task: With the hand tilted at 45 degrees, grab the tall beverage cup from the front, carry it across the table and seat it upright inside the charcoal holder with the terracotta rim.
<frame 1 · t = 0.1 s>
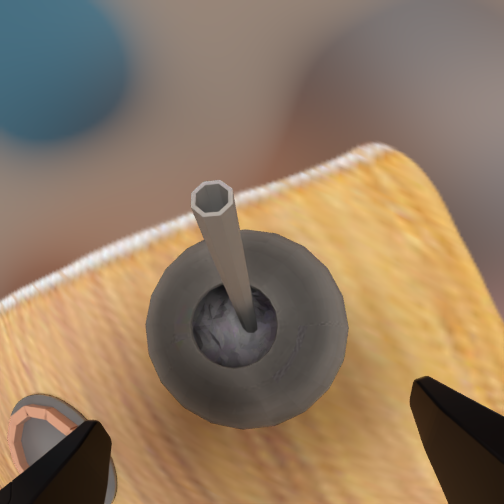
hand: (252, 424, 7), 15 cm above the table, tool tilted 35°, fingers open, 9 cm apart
beverage cup: (263, 336, 23), on the table
cup holder: (58, 458, 20), on the table
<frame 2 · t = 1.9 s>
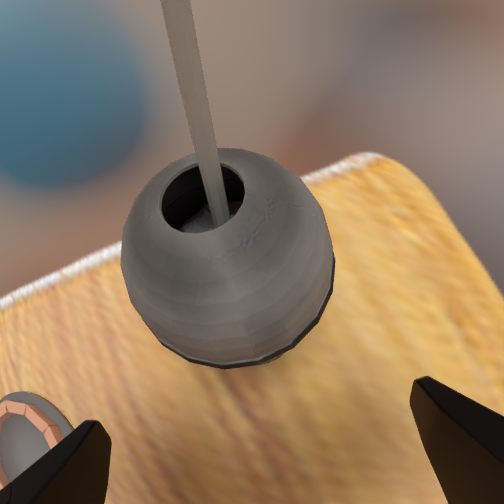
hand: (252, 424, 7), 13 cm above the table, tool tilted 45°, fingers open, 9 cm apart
beverage cup: (259, 331, 21), on the table
cup holder: (34, 462, 17), on the table
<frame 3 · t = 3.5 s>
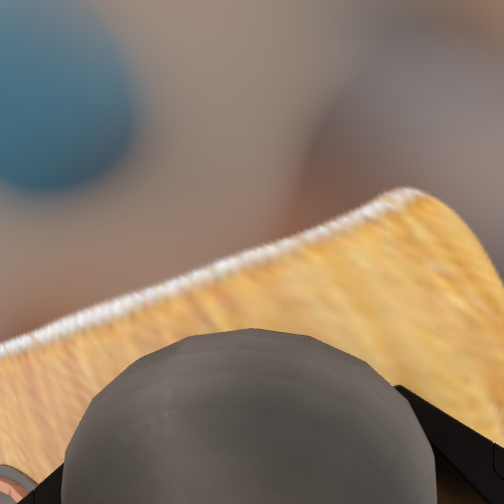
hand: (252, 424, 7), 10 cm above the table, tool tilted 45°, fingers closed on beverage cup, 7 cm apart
beverage cup: (272, 432, 16), on the table, touching gripper
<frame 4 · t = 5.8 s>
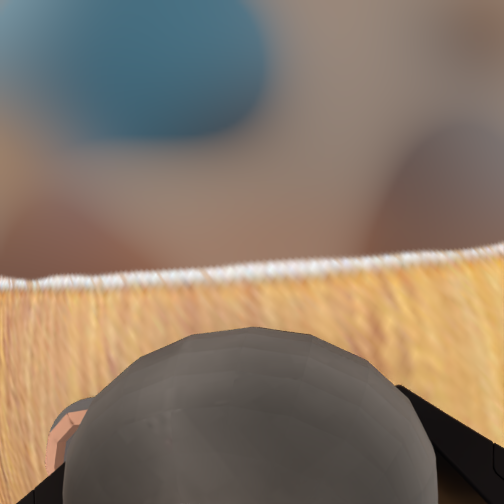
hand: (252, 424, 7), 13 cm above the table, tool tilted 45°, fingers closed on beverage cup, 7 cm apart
beverage cup: (273, 430, 16), point 3 cm above the table, touching gripper
cup holder: (114, 476, 18), on the table
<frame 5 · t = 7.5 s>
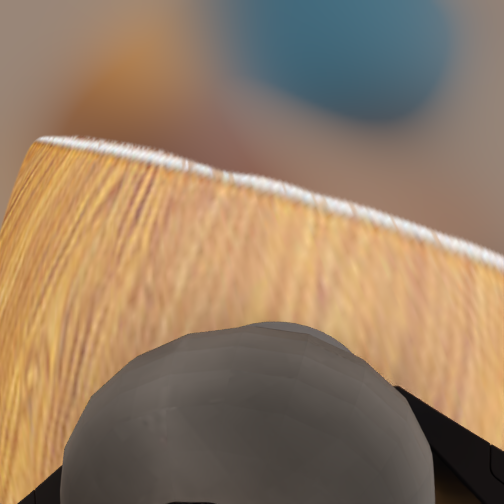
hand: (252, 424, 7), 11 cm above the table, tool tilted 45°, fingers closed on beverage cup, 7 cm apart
beverage cup: (272, 430, 16), point 2 cm above the table, touching gripper
cup holder: (272, 424, 17), on the table
when the fingers open (11 cm above the table, at t = 7.9 s): beverage cup drops 1 cm, resting on cup holder.
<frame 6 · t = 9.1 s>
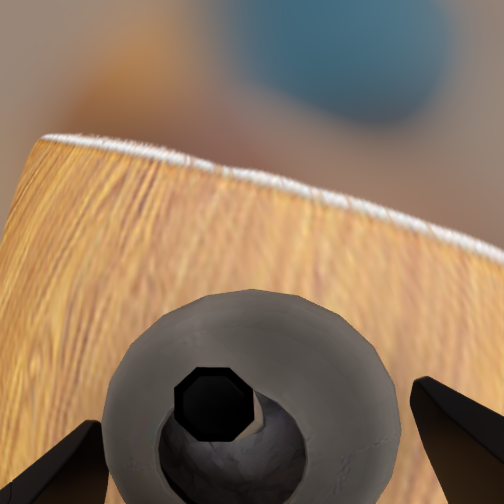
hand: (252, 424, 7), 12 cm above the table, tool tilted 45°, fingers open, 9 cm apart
beverage cup: (270, 408, 18), resting on cup holder
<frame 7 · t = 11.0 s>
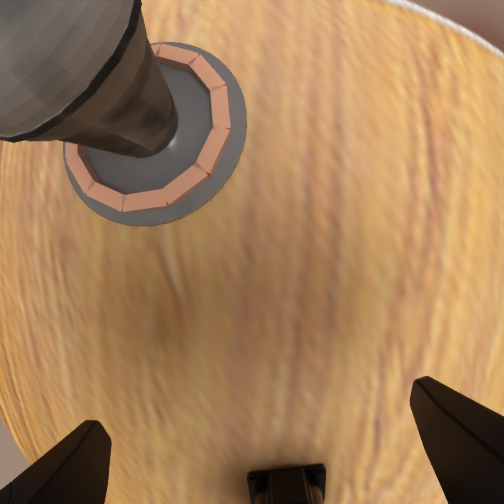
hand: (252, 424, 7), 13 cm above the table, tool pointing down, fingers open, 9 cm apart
beverage cup: (146, 125, 19), resting on cup holder
cup holder: (148, 128, 19), on the table
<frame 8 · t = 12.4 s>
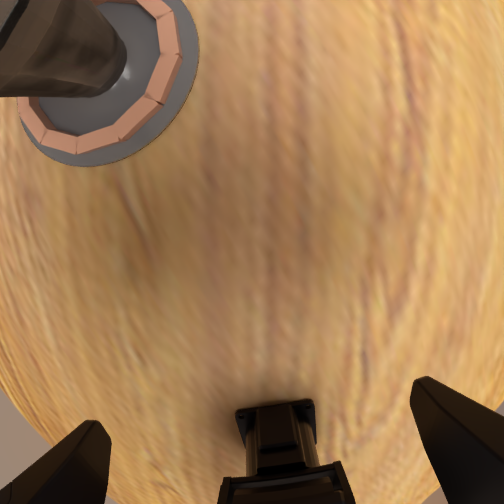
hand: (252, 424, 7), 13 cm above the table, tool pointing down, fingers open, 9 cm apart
beverage cup: (95, 64, 15), resting on cup holder
cup holder: (98, 66, 16), on the table
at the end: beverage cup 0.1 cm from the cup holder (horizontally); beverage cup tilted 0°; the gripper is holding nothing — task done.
